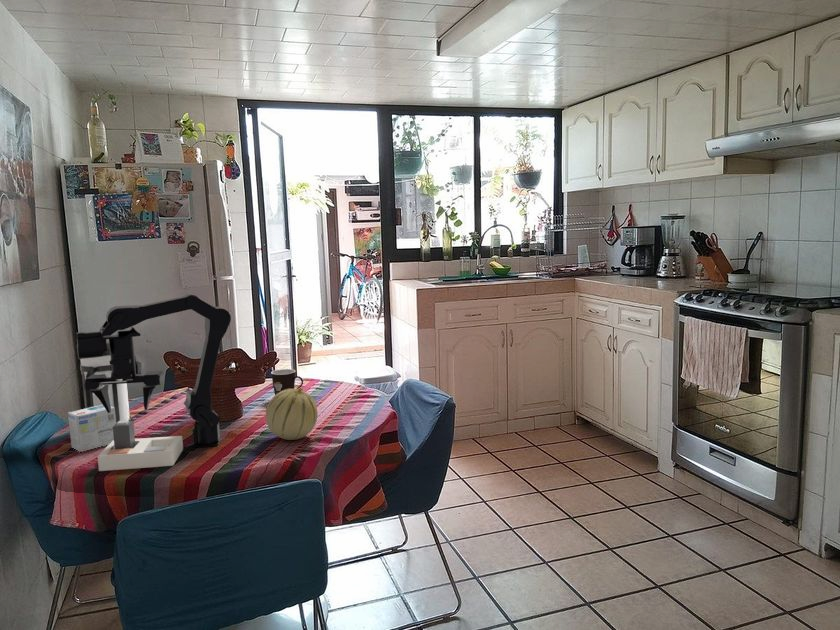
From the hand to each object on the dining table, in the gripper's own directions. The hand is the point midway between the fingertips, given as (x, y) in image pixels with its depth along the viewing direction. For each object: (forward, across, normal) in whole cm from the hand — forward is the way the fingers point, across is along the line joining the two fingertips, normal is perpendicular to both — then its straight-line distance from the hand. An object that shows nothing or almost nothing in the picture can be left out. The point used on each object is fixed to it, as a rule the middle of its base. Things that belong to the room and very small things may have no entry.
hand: (127, 411), depth 164 cm
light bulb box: (+13, +13, -12) cm, 22 cm away
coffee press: (+13, +14, -27) cm, 34 cm away
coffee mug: (+14, -39, -49) cm, 64 cm away
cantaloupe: (+13, -42, -6) cm, 45 cm away
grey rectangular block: (+13, +1, +2) cm, 13 cm away
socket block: (+13, -3, +3) cm, 14 cm away
